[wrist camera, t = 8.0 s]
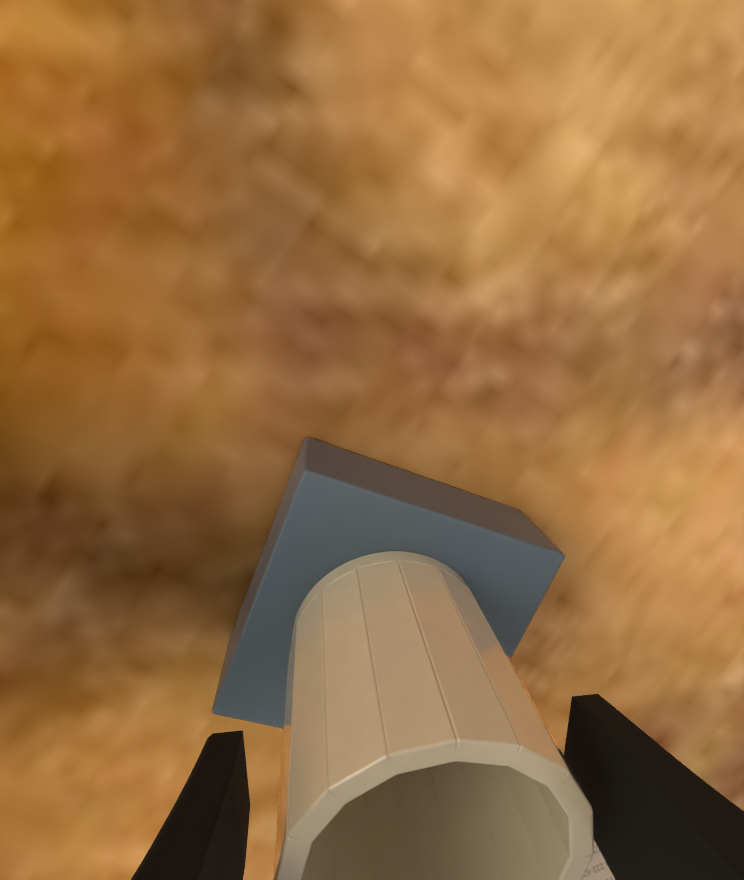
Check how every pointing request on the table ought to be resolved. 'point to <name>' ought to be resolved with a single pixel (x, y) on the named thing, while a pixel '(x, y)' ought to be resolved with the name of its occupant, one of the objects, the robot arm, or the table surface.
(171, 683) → the table surface
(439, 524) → the riser block
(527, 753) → the cup
